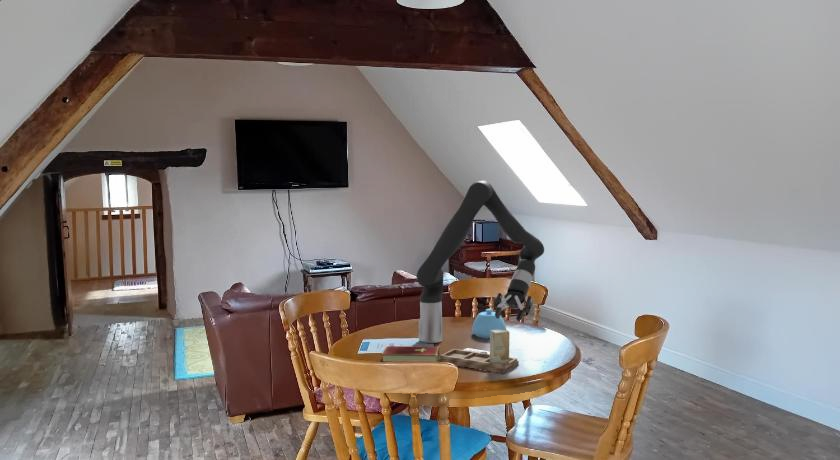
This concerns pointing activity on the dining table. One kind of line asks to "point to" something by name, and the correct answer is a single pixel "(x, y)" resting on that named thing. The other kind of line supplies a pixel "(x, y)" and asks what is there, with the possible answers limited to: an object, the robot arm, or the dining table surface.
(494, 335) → the skincare box
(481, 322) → the sugar bowl
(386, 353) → the hardcover book
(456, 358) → the socket board
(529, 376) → the dining table surface
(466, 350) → the card
